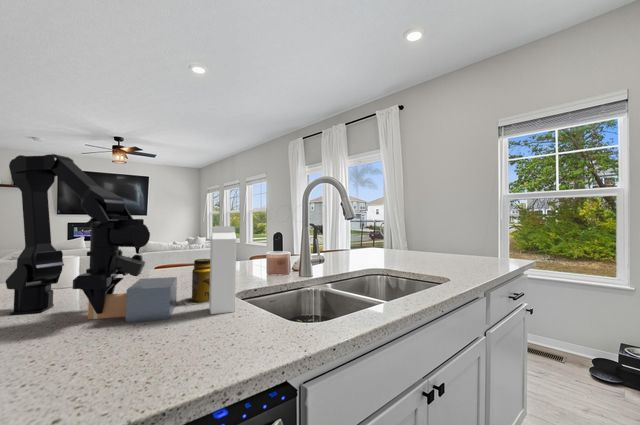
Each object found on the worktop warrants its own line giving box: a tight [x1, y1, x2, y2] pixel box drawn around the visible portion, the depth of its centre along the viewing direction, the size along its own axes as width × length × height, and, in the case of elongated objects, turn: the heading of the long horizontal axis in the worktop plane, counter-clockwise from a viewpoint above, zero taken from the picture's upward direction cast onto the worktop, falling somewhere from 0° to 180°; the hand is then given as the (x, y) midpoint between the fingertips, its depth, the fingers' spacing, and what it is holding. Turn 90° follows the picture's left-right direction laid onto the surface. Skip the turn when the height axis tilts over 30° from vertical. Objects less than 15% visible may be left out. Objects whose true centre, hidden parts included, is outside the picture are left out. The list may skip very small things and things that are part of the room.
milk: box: [208, 225, 237, 315], centre depth 80 cm, size 6×6×22 cm
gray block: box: [125, 276, 178, 324], centre depth 77 cm, size 10×14×8 cm
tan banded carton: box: [87, 292, 127, 320], centre depth 75 cm, size 14×3×5 cm, turn 109°
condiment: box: [181, 258, 210, 306], centre depth 89 cm, size 7×8×12 cm
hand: (102, 310), depth 74 cm, fingers open, 4 cm apart
